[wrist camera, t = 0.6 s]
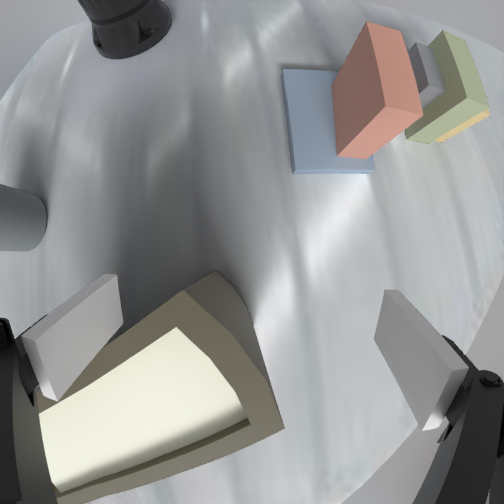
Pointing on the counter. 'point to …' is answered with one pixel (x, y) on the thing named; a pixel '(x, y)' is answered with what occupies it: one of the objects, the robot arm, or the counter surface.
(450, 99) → the row books
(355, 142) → the terracotta book
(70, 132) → the counter surface
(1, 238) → the water bottle
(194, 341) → the book
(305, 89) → the flat book
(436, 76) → the stone bookend
